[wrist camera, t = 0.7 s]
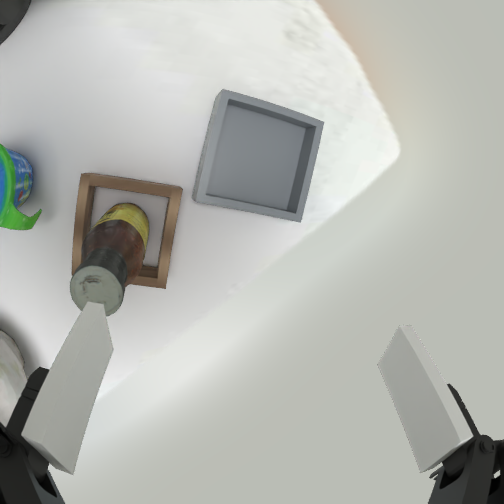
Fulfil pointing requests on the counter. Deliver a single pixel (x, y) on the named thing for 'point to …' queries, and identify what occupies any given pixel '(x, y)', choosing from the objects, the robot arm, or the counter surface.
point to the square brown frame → (90, 180)
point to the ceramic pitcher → (10, 376)
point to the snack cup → (15, 190)
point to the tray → (257, 157)
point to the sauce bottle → (111, 257)
